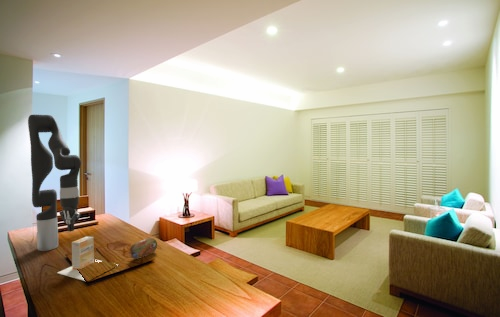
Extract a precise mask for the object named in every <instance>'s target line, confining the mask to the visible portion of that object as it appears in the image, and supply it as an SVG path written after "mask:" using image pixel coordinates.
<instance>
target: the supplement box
mask: <svg viewBox="0 0 500 317" xmlns="http://www.w3.org/2000/svg"><path fill="white" fill-rule="evenodd" d="M94 239H95V238H94V236H84V237H81V238H79V239H77V240H74V241H71V266H72V269H76V270H77V269H82V268H84V267H86V266H88V265H90V264H92V263H94V259H95V249H94V248H95V246H94V242H95V241H94Z"/></svg>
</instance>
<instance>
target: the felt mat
mask: <svg viewBox="0 0 500 317" xmlns="http://www.w3.org/2000/svg"><path fill="white" fill-rule="evenodd" d="M94 259H95V258H94ZM96 260H97V261H96ZM102 261H103V260H99V259H95V262H98V263H99V262H102ZM115 264H116V263H115ZM116 265H117V267H119V266H118V265H119V264H116ZM56 274H58V275H61V276H64V277H65V276H66V277H69V278H73V279H76V280H78V281H79V280H80V281H82V282H86V281H85V280H84V278H83V277H82V275H81V274H80V273H79V271H78V270H76V269H72V265H71V266H69V267H67V268H64V269H62V270H60V271H58V272H56Z"/></svg>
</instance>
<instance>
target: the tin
mask: <svg viewBox="0 0 500 317" xmlns="http://www.w3.org/2000/svg"><path fill="white" fill-rule="evenodd" d="M157 246H158V242H157V240H156V239H155V238H150V237H148V238H144V239H142V240H140V241H137V242H134V243H132V245H131V246H130V248H129V256H130V257H131V258H132V259H134V260H136V259H138V258H140V257H143V256H145V257H147V256H150V255H153V254H154V253H155V251H156V250H157ZM143 258H144V257H143ZM138 260H139V259H138Z"/></svg>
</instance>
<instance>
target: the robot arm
mask: <svg viewBox="0 0 500 317" xmlns="http://www.w3.org/2000/svg"><path fill="white" fill-rule="evenodd" d="M27 126H28V127H27V128H28V133H29V134H28V135H29V141H30V166H31V167H30V168H31V176H32V179H31V181H32V182H31V184H32V186H31V187H32V188H31V194H32V195H31V204H32V206H33V208H45V207H48V208H47V209H46V210H43V211H41V212H38V213H37V214H36V216H35V218H36V244H37V245H36V246H37V251H39V252H46V251H51V250H55V249H56V248H58V247H59V228H58V211H57V210H58V203H57V202H58V193H57V190H56V189H44V190H40V189H41V187H42V184H43V183H44V181H45V180H46V178H47V177H48V176H49V175H50V173H51V172H52V171H53V168H54V167H55V168H56V169H57V170H59V171H67V170H68V171H69V172H68V173H66V174H62V175H61V176H60V177H59V204H60V207H61V208H62V210H61V211H59V215H60V217H61V219H62V221H63V223H66V225H67V227H66V228H67V232H74V231H75V223H78V221H79V220H80V218H81V216H82V213H81V212H79V211H78V206H79V205H80V195H79V194H80V192H79V190H80V189H79V186H78V185H79V183H78V182H79V181H78V177H79V173H80V169H81V166H82V159H81V157H80V156H79V155H77V154H71V150H70V147H69V146H68V145H67V143H66V142H65V140H64V138H63V135H62V132H61V130H60V128H59V125H58V122H57V120H56V118H55V117H54V116H53V115H49V114H30V115H29V116H28V118H27ZM40 133H51V135H50V137H49V139H48V142H47V145H48V146H47V147H48V148H49V149H48V148H47V147H46V146H45V145H44V143H43V142H42V141H41V138H40ZM50 151H51V152H50Z"/></svg>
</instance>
